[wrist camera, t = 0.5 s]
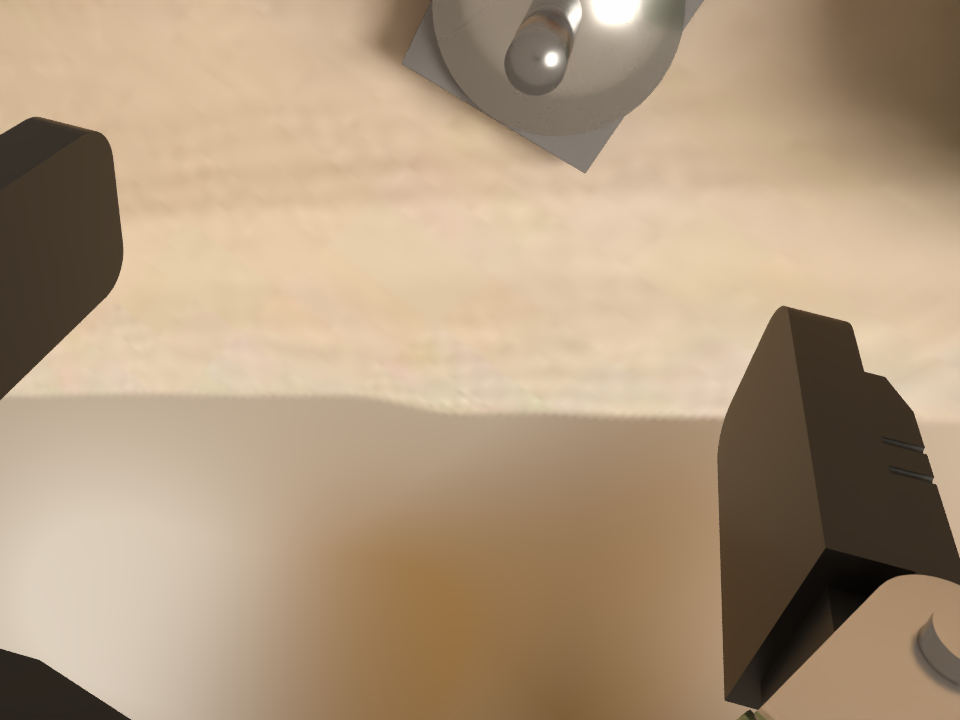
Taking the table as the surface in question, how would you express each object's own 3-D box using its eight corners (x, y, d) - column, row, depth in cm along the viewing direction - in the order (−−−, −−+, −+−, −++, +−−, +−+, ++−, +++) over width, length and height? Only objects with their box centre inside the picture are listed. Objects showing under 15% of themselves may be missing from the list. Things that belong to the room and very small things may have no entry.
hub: (510, -191, 26) (474, -175, 21) (740, -38, 27) (754, 10, 23) (396, 53, 31) (346, 111, 26) (594, 172, 32) (581, 247, 28)
